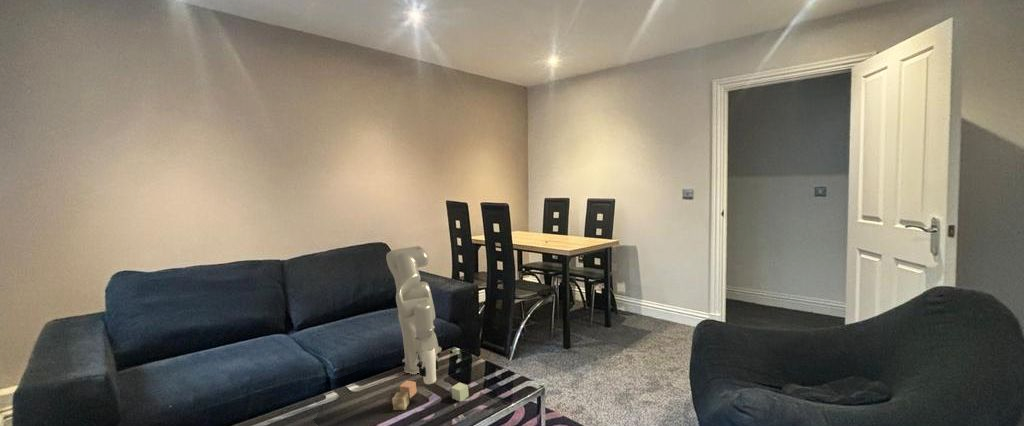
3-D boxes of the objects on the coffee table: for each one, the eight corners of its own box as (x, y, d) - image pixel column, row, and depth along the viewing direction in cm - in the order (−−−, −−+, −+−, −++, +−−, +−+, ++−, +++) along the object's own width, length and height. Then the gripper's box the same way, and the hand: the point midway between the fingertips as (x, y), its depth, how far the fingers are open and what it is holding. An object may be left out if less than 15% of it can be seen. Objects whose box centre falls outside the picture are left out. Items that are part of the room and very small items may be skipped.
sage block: (452, 398, 193) (451, 387, 192) (460, 393, 197) (459, 382, 196) (460, 401, 190) (459, 390, 189) (468, 396, 194) (467, 385, 193)
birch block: (393, 410, 188) (392, 398, 187) (398, 403, 193) (396, 392, 192) (405, 410, 187) (403, 398, 187) (409, 403, 192) (408, 392, 191)
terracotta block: (400, 396, 198) (399, 386, 197) (407, 390, 203) (406, 380, 202) (410, 398, 196) (408, 387, 195) (416, 392, 201) (415, 381, 200)
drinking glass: (423, 378, 197) (419, 346, 195) (438, 376, 197) (435, 344, 195) (421, 386, 190) (417, 353, 188) (437, 384, 191) (434, 351, 188)
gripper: (434, 323, 199) (438, 361, 202) (402, 338, 186) (407, 379, 189) (446, 326, 195) (449, 365, 198) (414, 342, 181) (419, 383, 184)
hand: (429, 371), depth 193 cm, fingers closed on drinking glass, 6 cm apart
